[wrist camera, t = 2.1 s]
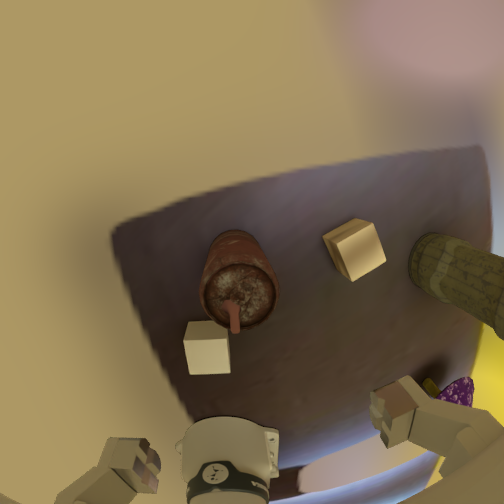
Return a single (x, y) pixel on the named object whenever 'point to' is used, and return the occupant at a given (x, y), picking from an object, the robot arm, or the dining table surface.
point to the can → (238, 282)
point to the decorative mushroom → (453, 391)
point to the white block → (207, 348)
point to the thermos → (460, 277)
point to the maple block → (355, 248)
